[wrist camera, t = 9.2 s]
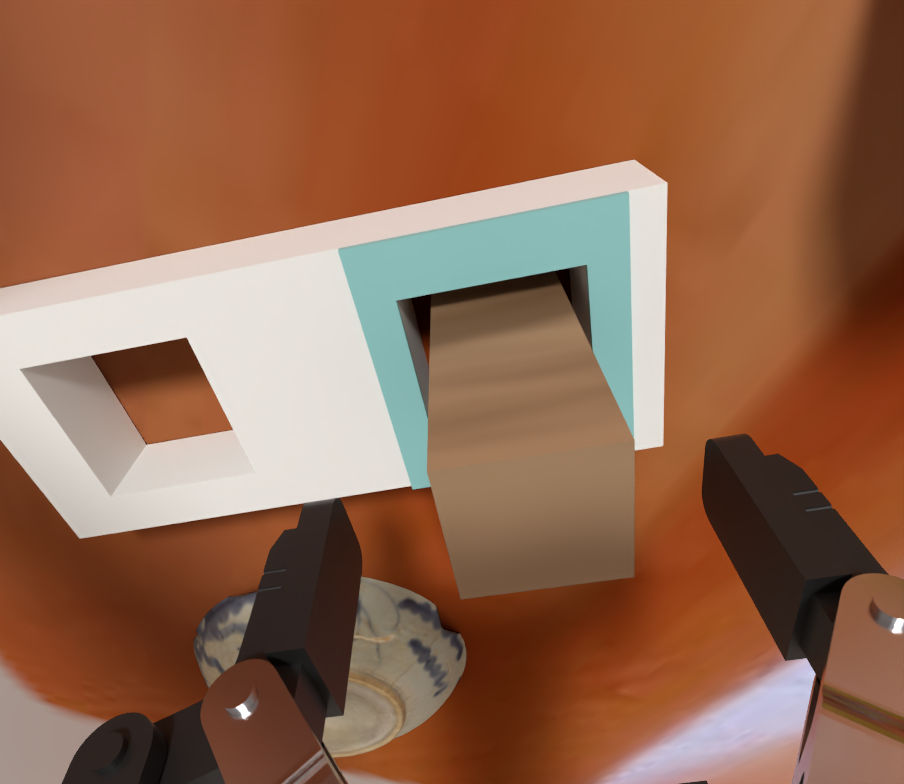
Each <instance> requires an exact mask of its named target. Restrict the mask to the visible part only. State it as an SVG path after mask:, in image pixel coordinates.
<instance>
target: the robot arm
mask: <svg viewBox="0 0 904 784" xmlns="http://www.w3.org/2000/svg"><path fill="white" fill-rule="evenodd" d="M702 499H703V504H704V508H705V512H706V514H707V517H708V519H709V521H710V523H711V525H712V527H713V529H714V530H715V532H716V534H717V536H718V538H719V540H720V541H721V543H722V545H723V547H724V549H725V551H726V552H727V554H728V556H729V558H730V560H731V562H732V563H733V565H734V567H735V569H736V571H737V573H738V574H739V576H740V578H741V580H742V582H743V584H744V585H745V587H746V589H747V591H748V593H749V595H750V597H751V598H752V600H753V602H754V604H755V606H756V608H757V609H758V611H759V613H760V615H761V617H762V619H763V620H764V622H765V624H766V626H767V628H768V630H769V631H770V633H771V635H772V637H773V639H774V641H775V642H776V644H777V646H778V648H779V650H780V652H781V653H782V655H783V657H784V659H785V661H787V660H795V659H803V658H807V659H808V661H809V663H810V665H811V666H812V668H813V670H814V672H815V673H816V675H815V678H814V681H813V686H812V691H811V696H810V701H809V705H808V710H807V715H806V720H805V724H804V729H803V734H802V739H801V743H800V748H799V753H798V758H797V762H796V767H795V771H794V776H793V780H792V784H904V579H901V578H898V577H895V576H891V575H889V574H888V573H887V572H886V571H885V570H884V569H883V568H882V567H881V565H880V564H879V563H878V562H877V560H876V559H875V558H874V557H873V556H872V554H871V553H870V552H869V551H868V549H867V548H866V547H865V546H864V544H863V543H862V542H861V541H860V539H859V538H858V537H857V536H856V535H855V533H854V532H853V531H852V530H851V528H850V527H849V526H848V525H847V523H846V522H845V521H844V520H843V518H842V517H841V516H840V515H839V514H838V512H837V511H836V510H835V509H832V507H831V504H830V502H829V501H828V500H827V499H826V498H825V496H824V495H823V494H822V493H819V491H818V488H817V486H816V485H815V484H814V483H813V481H812V480H811V479H810V478H809V477H808V475H807V474H806V473H805V472H804V470H803V469H802V468H800V467H798V466H797V465H795V464H794V463H792V462H791V461H789V460H787V459H786V458H784V457H783V456H781V455H779V454H774V455H767V456H764V454H763V453H762V452H761V450H760V449H759V448H758V446H757V445H756V444H755V442H754V441H753V440H752V438H751V437H750V436H749V435H747V434H739V435H733V436H727V437H721V438H715V439H709V440H708V441H707V442H706V446H705V457H704V470H703V482H702ZM361 575H362V554H361V549H360V545H359V542H358V539H357V537H356V534H355V532H354V530H353V527H352V525H351V522H350V520H349V518H348V515H347V513H346V510H345V508H344V506H343V503H342V501H341V500H340V499H339V498H334V499H328V500H322V501H316V502H310V503H305V504H304V506H303V508H302V511H301V515H300V518H299V522H298V526H297V528H296V529H289V530H284V532H283V533H282V534H281V536H280V537H279V538H278V540H277V541H276V543H275V544H274V545H273V547H272V548H271V549H270V552H269V555H268V558H267V561H266V565H265V568H264V575H262V578H261V581H260V585H259V588H258V589H259V593H257V595H256V598H255V601H254V604H253V608H252V611H251V614H250V618H249V621H248V624H247V628H246V631H245V634H244V637H243V641H242V644H241V647H240V651H239V654H238V657H237V660H236V662H235V665H233V666H232V667H230V668H228V669H227V670H226V671H225V672H223V673H222V674H221V675H220V676H219V677H218V678H217V679H216V680H215V681H214V683H213V684H212V685H211V686H210V688H209V690H208V691H207V693H206V695H205V697H204V699H203V700H201V701H200V702H198V703H196V704H194V705H192V706H190V707H188V708H185V709H183V710H181V711H179V712H177V713H175V714H172V715H170V716H168V717H166V718H164V719H162V720H159V721H157V722H155V723H152V722H151V721H150V720H149V719H148V718H147V717H146V716H144V715H143V714H140V713H125V714H122V715H119V716H116V717H114V718H112V719H110V720H109V721H107V722H105V723H104V724H102V725H101V726H100V727H98V728H97V729H96V730H95V731H94V732H93V733H92V734H91V735H90V736H89V737H88V738H87V739H86V740H85V741H84V743H83V744H82V745H81V746H80V748H79V749H78V751H77V752H76V754H75V755H74V757H73V760H72V761H71V763H70V766H69V768H68V771H67V773H66V775H65V777H64V780H63V782H62V784H348V783H347V781H346V779H345V777H344V776H343V774H342V772H341V771H340V769H339V767H338V766H337V764H336V762H335V760H334V759H333V757H332V755H331V754H330V752H329V750H328V748H327V747H326V745H325V743H324V742H323V740H322V739H323V733H324V726H325V719H326V718H328V717H336V716H344V710H345V702H346V694H347V686H348V678H349V670H350V662H351V654H352V646H353V638H354V631H355V623H356V615H357V607H358V599H359V591H360V583H361ZM681 784H708V783H707V781H699V782H690V783H681Z"/></svg>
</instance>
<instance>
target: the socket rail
mask: <svg viewBox="0 0 904 784" xmlns="http://www.w3.org/2000/svg"><path fill="white" fill-rule="evenodd" d="M666 236H667V182H665V181H664V180H662V179H661V178H660V177H658V176H657V175H655V174H654V173H652V172H651V171H650V170H648V169H647V168H645V167H644V166H643V165H641V164H640V163H638V162H637V161H635V160H630V161H625V162H620V163H615V164H610V165H605V166H601V167H596V168H591V169H586V170H581V171H576V172H571V173H566V174H561V175H556V176H551V177H546V178H541V179H537V180H532V181H527V182H522V183H517V184H512V185H507V186H502V187H497V188H492V189H487V190H482V191H477V192H473V193H468V194H463V195H458V196H453V197H448V198H443V199H438V200H433V201H428V202H423V203H418V204H413V205H409V206H404V207H399V208H394V209H389V210H384V211H379V212H374V213H369V214H364V215H359V216H354V217H349V218H345V219H340V220H335V221H330V222H325V223H320V224H315V225H310V226H305V227H300V228H295V229H290V230H285V231H281V232H276V233H271V234H266V235H261V236H256V237H251V238H246V239H241V240H236V241H231V242H226V243H221V244H217V245H212V246H207V247H202V248H197V249H192V250H187V251H182V252H177V253H172V254H167V255H162V256H157V257H153V258H148V259H143V260H138V261H133V262H128V263H123V264H118V265H113V266H108V267H103V268H98V269H93V270H89V271H84V272H79V273H74V274H69V275H64V276H59V277H54V278H49V279H44V280H39V281H34V282H30V283H25V284H20V285H15V286H10V287H5V288H0V440H1V441H2V442H3V444H4V445H5V446H6V447H7V449H8V450H9V451H10V452H11V454H12V455H13V456H14V457H15V459H16V460H17V461H18V462H19V464H20V465H21V466H22V467H23V469H24V470H25V471H26V472H27V474H28V475H29V476H30V477H31V479H32V480H33V481H34V482H35V483H36V485H37V486H38V487H39V488H40V490H41V491H42V492H43V493H44V495H45V496H46V497H47V498H48V500H49V501H50V502H51V503H52V505H53V506H54V507H55V508H56V510H57V511H58V512H59V513H60V515H61V516H62V517H63V518H64V520H65V521H66V522H67V523H68V525H69V526H70V527H71V528H72V530H73V531H74V532H75V533H76V535H77V536H78V537H79V538H80V539H81V538H87V537H94V536H100V535H106V534H113V533H119V532H125V531H131V530H138V529H144V528H150V527H157V526H163V525H169V524H175V523H182V522H188V521H194V520H201V519H207V518H213V517H219V516H226V515H232V514H238V513H245V512H251V511H257V510H263V509H270V508H276V507H282V506H289V505H295V504H301V503H307V502H314V501H320V500H326V499H333V498H339V497H345V496H351V495H358V494H364V493H370V492H377V491H383V490H389V489H395V488H402V487H408V486H412V489H419V488H426V487H431V485H430V481H429V477H428V474H427V445H428V403H429V367H428V363H427V359H426V355H425V351H424V347H423V343H422V339H421V335H420V331H419V327H418V323H417V319H416V315H415V311H414V307H413V303H412V299H411V298H413V297H418V296H423V295H429V294H434V293H439V292H444V291H450V290H455V289H460V288H466V287H471V286H476V285H482V284H487V283H492V282H497V281H503V280H508V279H513V278H519V277H524V276H529V275H535V274H540V273H545V272H551V271H556V270H561V269H566V268H569V276H570V288H571V300H572V308H573V310H574V312H575V314H576V317H577V319H578V321H579V323H580V325H581V327H582V329H583V331H584V334H585V336H586V338H587V340H588V342H589V344H590V346H591V349H592V351H593V353H594V355H595V357H596V359H597V361H598V363H599V366H600V368H601V370H602V372H603V374H604V376H605V378H606V380H607V383H608V385H609V387H610V389H611V391H612V393H613V395H614V397H615V400H616V402H617V404H618V406H619V408H620V410H621V412H622V415H623V417H624V419H625V421H626V423H627V425H628V427H629V429H630V432H631V434H632V436H633V438H634V440H635V450H641V449H647V448H653V447H659V446H663V421H664V359H665V298H666ZM186 337H187V339H188V341H189V343H190V345H191V347H192V349H193V351H194V353H195V355H196V357H197V359H198V361H199V363H200V365H201V367H202V369H203V371H204V373H205V375H206V377H207V379H208V381H209V383H210V385H211V387H212V389H213V390H214V392H215V394H216V396H217V398H218V400H219V402H220V404H221V406H222V408H223V410H224V412H225V414H226V416H227V418H228V420H229V422H230V424H231V426H232V428H233V430H230V431H224V432H219V433H213V434H207V435H201V436H196V437H190V438H184V439H178V440H172V441H167V442H161V443H155V444H149V445H146V443H145V442H144V440H143V438H142V437H141V435H140V434H139V432H138V430H137V429H136V427H135V426H134V424H133V422H132V421H131V419H130V418H129V416H128V415H127V413H126V411H125V410H124V408H123V407H122V405H121V403H120V402H119V400H118V399H117V397H116V395H115V394H114V392H113V391H112V389H111V387H110V386H109V384H108V383H107V381H106V379H105V378H104V376H103V375H102V373H101V371H100V370H99V368H98V367H97V365H96V363H95V362H94V360H93V359H92V357H91V355H97V354H102V353H107V352H112V351H118V350H123V349H128V348H134V347H139V346H144V345H149V344H155V343H160V342H165V341H171V340H176V339H181V338H186Z"/></svg>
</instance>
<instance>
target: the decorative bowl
mask: <svg viewBox="0 0 904 784" xmlns="http://www.w3.org/2000/svg"><path fill="white" fill-rule="evenodd" d="M257 593H259V591H256V592H253V593H249V594H245V595H239V596H229V597H227V598H226V599H224V600H223V601H221V602H220V603H218V604H217V605H216V606H214V607H213V608H212V609H211V610H210V611H209V612H208V613H207V614H206V615H205V616H204V618H203V619H202V621H201V622H200V624H199V626H198V628H197V634H198V635H197V636H196V637H195V639H194V652H195V656H196V659H197V662H198V664H199V667H200V669H201V672H202V675H203V677H204V680H205V682H206V684H207V687H208V689H209V688H210V686H211V685H212V684H213V683H214V681H215V680H216V679H217V678H218V677H219V676H220V675H221V674H222V673H223V672H225V671H226V670H227V669H228V668H230V667H232V666H233V665H235V662H236V660H237V657H238V654H239V651H240V647H241V644H242V641H243V637H244V634H245V631H246V628H247V624H248V621H249V618H250V614H251V611H252V608H253V604H254V601H255V598H256V595H257ZM465 664H466V647H465V643H464V640H463V638H462V636H461V634H460V633H455V632H450V631H448V630H444V629H443V628H442V627H441V622H440V619H439V614H438V611H437V607H436V605H435V604H433V603H432V602H431V601H429V600H427V599H426V598H424V597H422V596H421V595H419V594H416V593H414V592H412V591H410V590H407V589H405V588H402V587H400V586H396V585H394V584H390V583H387V582H383V581H379V580H375V579H370V578H366V577H361V583H360V591H359V599H358V607H357V615H356V623H355V631H354V638H353V646H352V654H351V662H350V670H349V678H348V686H347V694H346V702H345V710H344V716H336V717H328V718H326V719H325V726H324V733H323V739H322V740H323V742H324V743H325V745H326V747H327V748H328V750H329V752H330V754H331V755H332V757H333V758H335V757H347V756H353V755H358V754H362V753H366V752H369V751H372V750H375V749H377V748H379V747H381V746H383V745H385V744H387V743H388V742H390V741H391V740H392V739H394V738H396V737H399V736H401V735H403V734H405V733H407V732H409V731H411V730H412V729H414V728H416V727H417V726H419V725H420V724H422V723H423V722H425V721H426V720H427V719H428V718H429V717H430V716H432V715H433V714H434V713H435V712H436V711H437V710H438V709H439V708H440V707H441V706H442V705H443V703H444V702H445V701H446V700H447V698H448V697H449V696H450V694H451V693H452V691H453V689H454V688H455V686H456V684H457V683H458V681H459V680H460V678H461V676H462V673H463V671H464V668H465Z"/></svg>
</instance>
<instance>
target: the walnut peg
mask: <svg viewBox="0 0 904 784" xmlns="http://www.w3.org/2000/svg"><path fill="white" fill-rule="evenodd" d="M427 474H428V477H429V481H430V485H431V489H432V493H433V496H434V500H435V504H436V508H437V512H438V515H439V519H440V523H441V527H442V530H443V534H444V538H445V542H446V546H447V549H448V553H449V557H450V561H451V565H452V568H453V572H454V576H455V580H456V584H457V587H458V591H459V595H460V599H468V598H476V597H484V596H491V595H499V594H507V593H514V592H522V591H530V590H538V589H545V588H553V587H561V586H569V585H576V584H584V583H592V582H599V581H607V580H615V579H623V578H630V577H634V505H635V440H634V438H633V436H632V434H631V432H630V429H629V427H628V425H627V423H626V421H625V419H624V417H623V415H622V412H621V410H620V408H619V406H618V404H617V402H616V400H615V397H614V395H613V393H612V391H611V389H610V387H609V385H608V383H607V380H606V378H605V376H604V374H603V372H602V370H601V368H600V366H599V363H598V361H597V359H596V357H595V355H594V353H593V351H592V349H591V346H590V344H589V342H588V340H587V338H586V336H585V334H584V331H583V329H582V327H581V325H580V323H579V321H578V319H577V317H576V314H575V312H574V310H573V308H572V306H571V304H570V302H569V300H568V297H567V295H566V293H565V291H564V289H563V287H562V285H561V282H560V280H559V278H558V276H557V274H556V272H555V271H551V272H545V273H540V274H535V275H529V276H524V277H519V278H513V279H508V280H503V281H497V282H492V283H487V284H482V285H476V286H471V287H466V288H460V289H455V290H450V291H444V292H439V293H434V294H431V319H430V361H429V403H428V445H427Z"/></svg>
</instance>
